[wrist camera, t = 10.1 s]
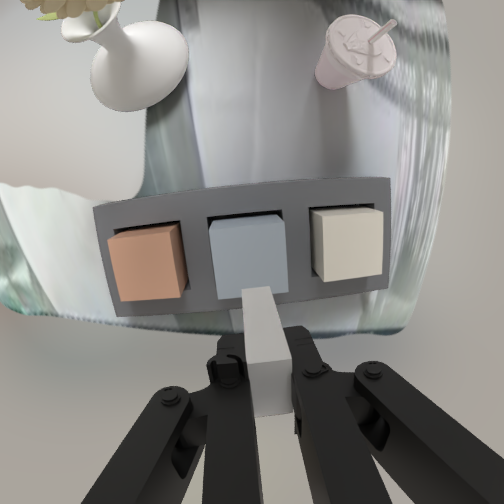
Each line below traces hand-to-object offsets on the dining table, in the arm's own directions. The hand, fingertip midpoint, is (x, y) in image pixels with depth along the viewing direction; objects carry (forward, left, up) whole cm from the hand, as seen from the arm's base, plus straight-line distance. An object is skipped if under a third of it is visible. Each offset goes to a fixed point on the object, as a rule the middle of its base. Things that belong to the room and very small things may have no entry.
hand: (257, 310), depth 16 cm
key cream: (0, +10, -15) cm, 17 cm away
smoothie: (-18, +11, -17) cm, 27 cm away
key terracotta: (0, -9, -15) cm, 17 cm away
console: (0, 0, -16) cm, 16 cm away
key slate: (0, 0, -13) cm, 13 cm away
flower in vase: (-21, -9, -17) cm, 28 cm away
